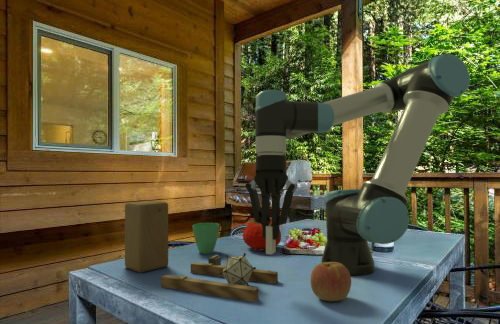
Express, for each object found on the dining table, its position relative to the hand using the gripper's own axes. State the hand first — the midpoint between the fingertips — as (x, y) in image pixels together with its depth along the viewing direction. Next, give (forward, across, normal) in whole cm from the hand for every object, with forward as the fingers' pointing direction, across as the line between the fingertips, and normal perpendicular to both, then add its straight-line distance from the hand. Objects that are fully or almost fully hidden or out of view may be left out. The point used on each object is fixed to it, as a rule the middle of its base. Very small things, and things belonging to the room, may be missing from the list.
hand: (270, 252), depth 78 cm
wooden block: (+10, +43, -5) cm, 44 cm away
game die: (+10, +9, 0) cm, 13 cm away
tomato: (+9, +19, -41) cm, 46 cm away
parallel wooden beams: (+9, +14, -2) cm, 17 cm away
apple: (+9, -14, -1) cm, 17 cm away
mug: (+10, +38, -30) cm, 50 cm away
